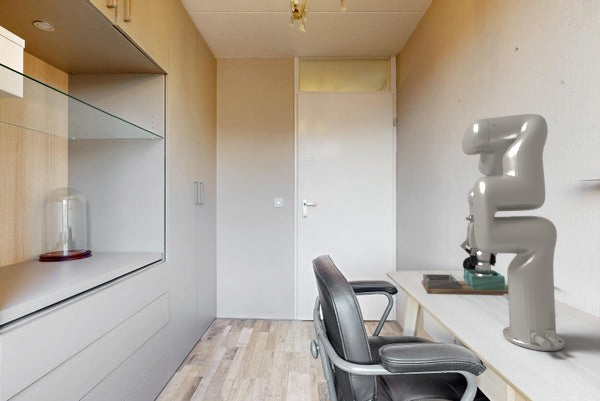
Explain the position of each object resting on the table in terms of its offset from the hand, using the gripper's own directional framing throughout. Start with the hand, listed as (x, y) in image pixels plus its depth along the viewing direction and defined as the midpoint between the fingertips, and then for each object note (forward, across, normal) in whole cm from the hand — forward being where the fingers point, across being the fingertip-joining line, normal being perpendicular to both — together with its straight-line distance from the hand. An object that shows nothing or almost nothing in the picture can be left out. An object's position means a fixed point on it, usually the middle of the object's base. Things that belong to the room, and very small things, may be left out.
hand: (482, 264), depth 122 cm
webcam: (+10, +1, +17) cm, 20 cm away
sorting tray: (+10, -8, 0) cm, 13 cm away
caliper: (+10, +5, -17) cm, 21 cm away
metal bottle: (+8, 0, 0) cm, 8 cm away
